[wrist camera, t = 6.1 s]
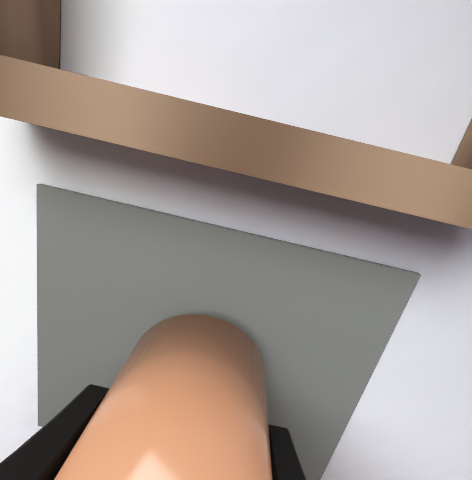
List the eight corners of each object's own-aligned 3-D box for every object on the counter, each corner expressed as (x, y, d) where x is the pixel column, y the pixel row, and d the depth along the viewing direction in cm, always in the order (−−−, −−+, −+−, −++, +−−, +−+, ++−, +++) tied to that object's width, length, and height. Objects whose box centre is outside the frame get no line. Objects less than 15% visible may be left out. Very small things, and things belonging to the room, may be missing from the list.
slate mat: (418, 272, 11) (421, 275, 11) (315, 483, 15) (316, 487, 15) (40, 183, 10) (36, 184, 10) (40, 421, 14) (37, 425, 14)
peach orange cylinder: (281, 332, 11) (320, 559, 5) (246, 439, 12) (242, 716, 6) (140, 299, 10) (-4, 488, 5) (122, 411, 12) (-4, 665, 6)
